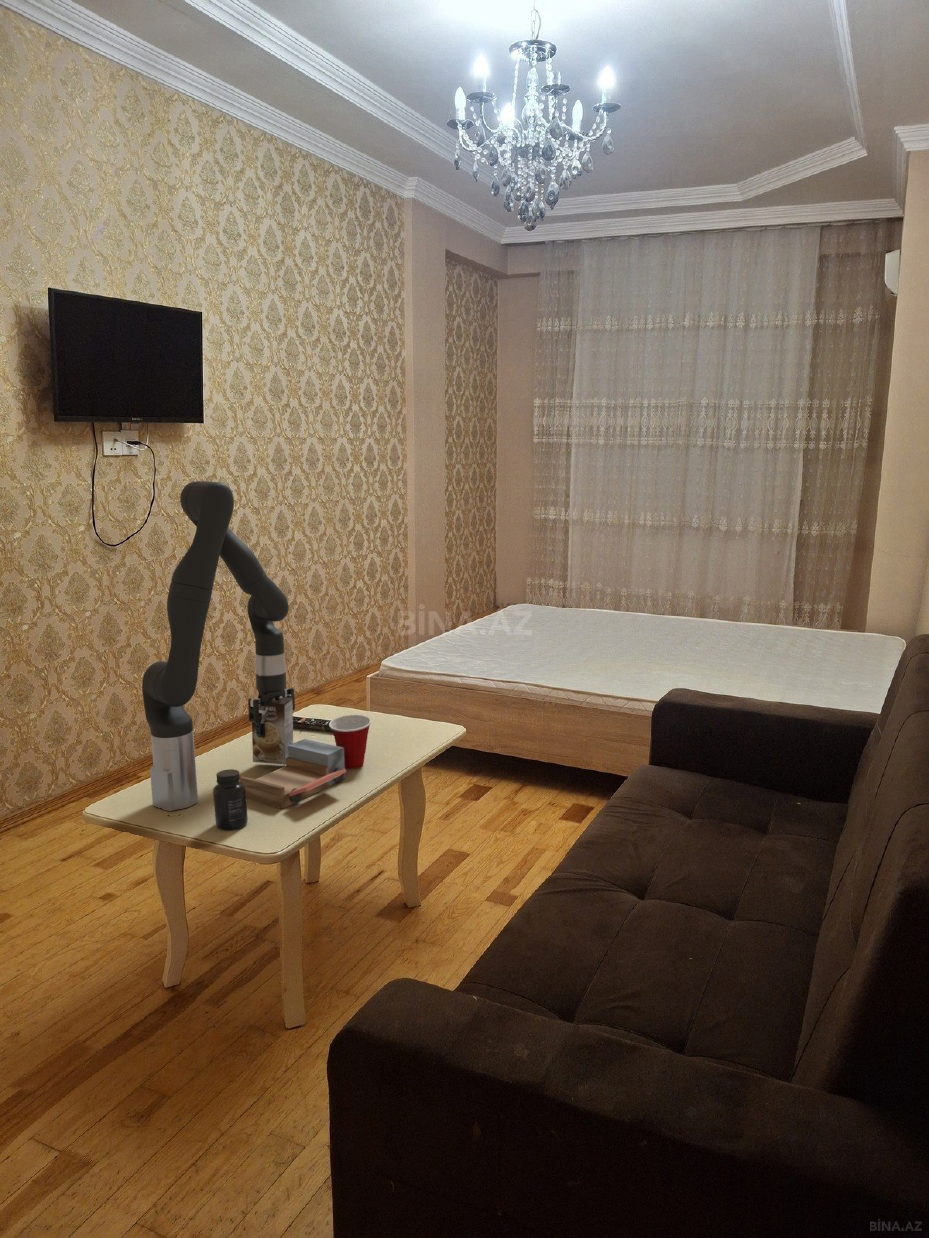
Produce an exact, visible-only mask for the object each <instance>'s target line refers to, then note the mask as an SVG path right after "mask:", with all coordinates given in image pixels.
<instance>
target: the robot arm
mask: <svg viewBox="0 0 929 1238" xmlns="http://www.w3.org/2000/svg"><path fill="white" fill-rule="evenodd" d="M232 491H233V490H231V488H230V487H229V486H228V485H227V484H225V483H224V482H219V481H218V482H217V481H208V480H207V481H206V480H205V481H204V480H203V481H202V480H197V481H196V480H195V481H192V482H189V483H188V484H186V485H185V486H184V487H183V488H182V489H181V493H180V497H179V500H180V507H181V509H182V510H183V512H184V514H185V515H186V517H187V518H188V519H189V520H190V521H191V522H192V523H193V524H194V525H195V527H196V529H195V534H194V537H193V539H192V543H191V544H190V547H189V548H188V550H187V551H186V553H185V554H184V555H183V557H182V558H181V560H180V561H179V562H178V564H177V566H176V567H175V569H174V571H173V574H172V576H171V580H170V585H169V588H168V589H169V590H168V594H167V599H166V600H167V601H166V612H167V618H168V624H169V629H170V638H171V639H170V647H169V653H168V657H167V661H162V660H160V661H156V662H154V663H152V664H150V665H149V666H148V667H147V669H146V670H145V672H144V674H143V677H142V682H141V685H142V686H141V688H142V689H141V690H142V699H143V707H144V713H145V714H144V715H145V719H146V722H147V724H148V726H149V728H150V729H149V730H150V738H151V739H150V740H151V750H152V751H151V752H152V753H151V754H152V762H153V763H152V766H150V767H149V773H150V774H149V776H150V787H151V788H150V789H151V799H152V807H154V806H156V807H155V808H157V807H158V809H160V808H162V809H161V810H165V811H167V812H173V811H175V810H176V811H177V810H181V809H186V808H190V807H192V806H194V805H195V804H196V803H198V802H199V794H198V781H197V780H198V777H197V768H196V767H197V766H196V751H195V737H194V726H193V719H192V717H191V715H190V714H189V713H188V712H187V711H186V709H185V707H184V705H186V704H188V703H189V701H190V700H191V699H192V698H193V696H194V694H195V692H196V690H197V689H196V688H197V685H198V684H197V683H198V676H199V667H200V666H199V665H200V656H201V649H202V642H203V637H204V631H205V625H206V622H207V616H208V612H209V607H210V603H211V599H212V594H213V589H214V583H215V578H216V574H217V569H218V566H219V561H220V558H221V559H222V561H223V562H224V565H226V567H227V569H228V570H229V572H230V573H231V575H232V577H233V578H234V580H235V581H236V583H237V585H238V586H239V588H240V589H241V590H242V592H243V593H245V594H247V595H249V596H250V597H249V599H248V602H247V615H248V619H249V622H250V627H251V629H252V633H253V635H254V639H255V641H254V643H255V644H254V646H255V647H254V648H255V659H254V669H255V673H254V674H255V688H256V691H257V692H258V694H257V697H258V698H257V697H256V698H251V697H250V698H248V700H247V701H248V702H247V703H248V705H247V706H248V712H247V713H248V721H249V722H251V723H252V722H254V723H256V734H257V736H258V737H260V738H264V737H265V723H264V721H265V719H266V717H267V716H268V715H269V705H268V706H267V703H268V702H269V703H272V702H275V701H276V700H281V699H284V697H287V698H292V700H293V712H294V711H295V709H296V702H295V689H294V688H292V687H287V666H286V663H287V662H286V657H285V643H284V642H285V640H284V633H283V632H282V631H281V630H280V629H279V628H277V627H276V626H275V624H274V622H280V621H283V620H285V618H286V617H287V616H288V614H289V611H290V610H289V601H288V598H287V596H286V595H285V594H284V592H283V591H282V590H281V589H280V588H279V586H277V584H276V583H275V582H274V581H273V580H272V579H271V578H270V577H269V576H268V575H267V573H266V572H265V570H264V567H263V566H262V564H261V562H260V561H259V559H258V558H257V556H256V555H255V554H254V552H253V551H252V550H251V549H250V548H249V546H247V545H246V544H245V543H244V542H243V540H241V539H240V538H239V536H238V535H236V534H235V532H234V531H233V530H232V529H231V528H230V527H229V526H230V522H231V519H232V516H233V512H234V508H235V505H234V504H235V497H234V494H233V492H232ZM261 703H262V704H263V705H264V707H266V706H267V708H266V710H265V711H262V710H259V706H260V704H261ZM253 713H254V717H253ZM260 714H262V716H261V718H260Z"/></svg>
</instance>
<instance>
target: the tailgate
mask: <svg viewBox="0 0 929 1238" xmlns="http://www.w3.org/2000/svg"><path fill="white" fill-rule="evenodd" d="M343 773H345V774H346V773H347V768H345V769H343V770H340V771H337V772H334V773H331V774H328V775H326V776H323V777H321V778H319V779H317V780H315V781H313V782H311V783H309V784H306V785H304V786H302V787H300V788H298V789H296V790H294V791H292V792H289V796H292V795H295V794H298V793H302V792H305V791H309V790H311V789H313V788H315V787H317V786H319V785H321V784H323V783H326V782H328V781H330V780H332V779H334V778H336V777H338V776H340V775H341V774H343Z"/></svg>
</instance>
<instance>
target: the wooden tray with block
mask: <svg viewBox="0 0 929 1238" xmlns="http://www.w3.org/2000/svg"><path fill="white" fill-rule="evenodd" d="M343 769H346V768H345V762H344V748H343V747H339V746H336V745H333V744H329V743H324V742H320V741H315V740H311V739H308V738H303V739H301V740H298V741H296V742H293V744H291V745H288V757H287V758H286V764H285V765H284V766H283V767H281V768H277V769H276V770H274V771H271V772H268V773H267V774H264V775H262V776H260V777H257V778H252V777H248V776H246V775H245V776H244V775H243V776H240V782H242V783H243V784H244V786H245V791H246V800H248V801H252V802H255V803H259V804H263V805H267V806H270V807H273V808H277V809H281V810H284V809H285V808H288V807H289V806H292V805H293V804H297V803H299V802H300V801H302V800H305V799H306V798H308V797H310V796H312V795H314V794H316V793H318V792H320V791H322V790H324V789H326V788H328V787H330V786H333V785H335V784H336V783H340V782H342V781H343V780H345V779H346V772H345V773H343V774H341V775H340V776H338V777H336V778H334V779H332V780H330V781H328V782H326V783H323V784H321V785H319V786H317V787H315V788H313V789H311V790H309V791H305V792H302V793H298V794H295V795H292V796H289V792H292V791H294V790H296V789H298V788H300V787H302V786H304V785H306V784H309V783H311V782H313V781H315V780H317V779H319V778H321V777H323V776H326V775H328V774H331V773H334V772H337V771H340V770H343Z"/></svg>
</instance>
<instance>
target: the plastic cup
mask: <svg viewBox="0 0 929 1238" xmlns="http://www.w3.org/2000/svg"><path fill="white" fill-rule="evenodd" d="M371 724H372V718H371V717H369V716H367V715H364V714H346V715H342V716H338V717H335V718H334V719H332V720H330V721H329V724H328V726H329V728H330V729H331V732H332V735H333V737H334V741H335V746H339V747H343V748H344V762H345V769H346V770H347V769H349V770H351V769H353V770H354V769H358V768H361V767H363V766H364V763H365V756H366V750H367V744H368V743H367V741H368V735H369V731H370V726H371Z"/></svg>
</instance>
